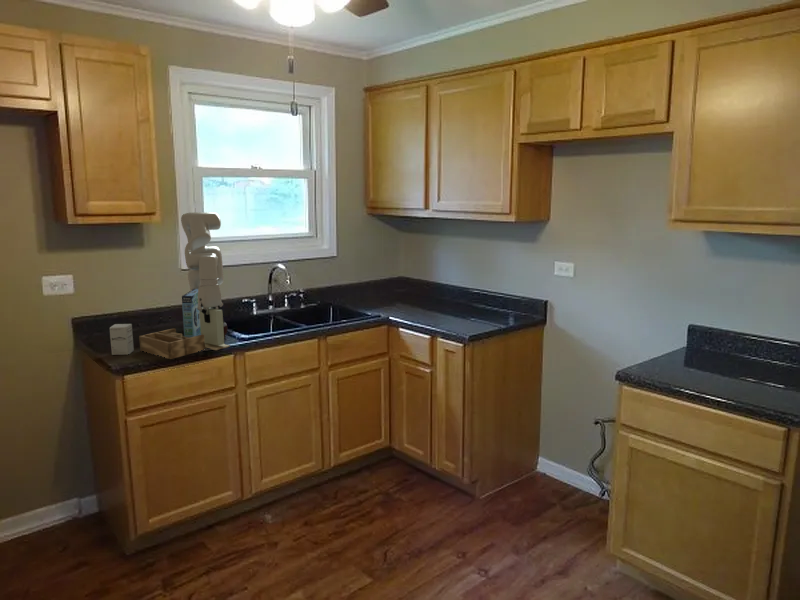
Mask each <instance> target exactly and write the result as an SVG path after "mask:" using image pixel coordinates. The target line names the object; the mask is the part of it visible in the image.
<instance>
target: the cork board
mask: <svg viewBox="0 0 800 600" xmlns="http://www.w3.org/2000/svg"><path fill="white" fill-rule="evenodd" d="M229 347H231V344H225V343H224V344H223V345H219V346H217V345H213V344H209V343H205V349H207V348H210V349H209V350H213V351H218V350H223V349H226V348H229Z"/></svg>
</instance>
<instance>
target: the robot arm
mask: <svg viewBox="0 0 800 600" xmlns="http://www.w3.org/2000/svg"><path fill="white" fill-rule="evenodd" d="M180 221H181V226H182V229H183V231H184V233H185V236H186V239H187V243H186V245H185V247H184V257H185V258H184V259H185V265H186V267H187V268H188V270H189V271H188V272H187V280H188V284H189V289H190V290H189V291H191V290H192V289H198V308H197V310H199V311H201V312H202V313H203V314H204V320H205V322H206V323H210V314H209V308H214V309H219V310H221V308H222V307H223V306H224V302H222V294H221V288H220V286H221V285H222V284H223V283H224V268H223V256H222V252H221V249H220V247H219V246H215V245H214V246H209V245H208V244H210V241H211V239H212V238H211V237H212V236H211V233H210V231H214V230H215V231H217V230H220V228H221V225H222V221H221V217H220V214H218V213H217V212H214V211H213V212H212V211H211V212H210V211H208V212H207V211H206V212H205V211H203V212H201V211H200V212H199V211H198V212H186V213H182V215H181V218H180ZM207 245H208V246H207ZM202 307H203V309H202Z"/></svg>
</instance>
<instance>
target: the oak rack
mask: <svg viewBox="0 0 800 600" xmlns="http://www.w3.org/2000/svg"><path fill="white" fill-rule="evenodd" d="M169 333H177V328H176V327H175V328H170V329H165V330H161V331H156V332H150V333H147V334H143V335H138V340H139V351H140V352H142V351H144V352H143V353H146V352H147V354H149V353H151V354H150V355H153V354H155V355H154V356H157V355H159V356H158V357H160V356H162V357H161V358H164V357H165V359H167V360H168V359H169V360H172V359H177V358H180V357H183V356H187V355H191V354H194V353H198V351H199V352H202V351H201V350H203V351H205V350H206V348H205V339H204V335H198V336H194V337H190V338H188V337H184V335H182V337H183V339H182V338H178V337H174V336H170V335H166V334H169ZM204 349H205V350H204Z"/></svg>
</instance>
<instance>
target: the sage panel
mask: <svg viewBox="0 0 800 600" xmlns="http://www.w3.org/2000/svg"><path fill="white" fill-rule="evenodd" d="M202 309H203V308H202ZM199 313H200V328H201V335H204V339H205V343H209V344H213V345H217V346H219V345H223V344H225V340H224V329H223V322H224V317H223V316H224V315H223V309H214V308H212V307H211V308H209V314H210V323H206V322H205V320H204V314H203V313H202V312H201V311H199Z"/></svg>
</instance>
